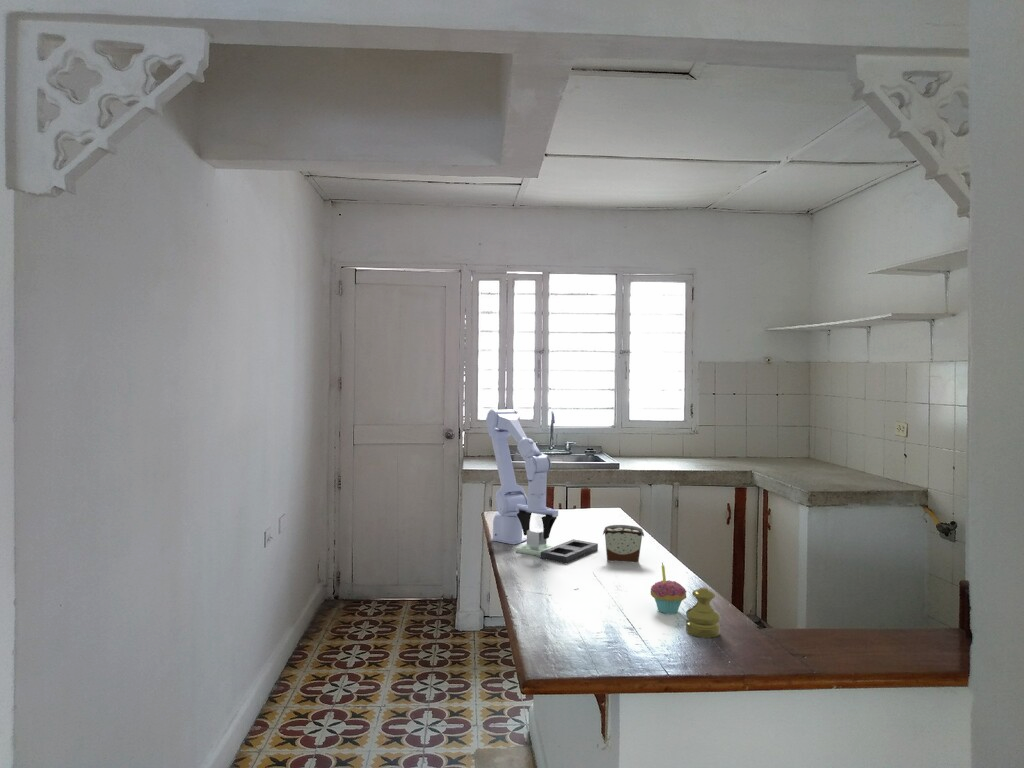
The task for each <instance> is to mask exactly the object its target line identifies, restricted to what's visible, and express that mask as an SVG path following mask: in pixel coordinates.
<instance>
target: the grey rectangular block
mask: <svg viewBox="0 0 1024 768" xmlns="http://www.w3.org/2000/svg"><path fill="white" fill-rule="evenodd" d="M526 539H527V540H526V544H527V549H531V550H536V551H541V550H544V549H546V545H547V542H548V541H547V540H548V538H547V539H544V537H543V528H536V527H534V528H530V530H527V535H526Z"/></svg>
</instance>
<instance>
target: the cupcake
mask: <svg viewBox="0 0 1024 768" xmlns="http://www.w3.org/2000/svg"><path fill="white" fill-rule="evenodd" d="M661 564H662V565H661V573H662V580H661V581H657V582H655V583H654V584H653V585H651V587H650V595H651V597H652V598H653V599H654V601H655V603H656V607H657V608H656V609H657V610H659V611H658V612H660V613H662V612H663V614H666V613H669V615H673V614H677V613H678V612H679V609H680V606H681V604H682V601H684V600H686V598H687V590H686V588H685V587H684V586H683V585H681V584H680V583H679V582H677V580H675V581H674V580H673V581H672V580H666V579H667V578H666V577H667V576H666V571H665V570H666V569H665V568H666V567H665V565H664V562H661Z"/></svg>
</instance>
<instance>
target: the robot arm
mask: <svg viewBox="0 0 1024 768" xmlns="http://www.w3.org/2000/svg"><path fill="white" fill-rule="evenodd" d="M520 420H521V415H520V414H519V413H518V410H517V409H515V408H512V409H490V410H489V411H488V412H487V416H486V419H485V421H486V422H485V423H486V427H487V431H488V436H489V437H491V441H492V442H491V443H492V446H493V447H492V448H493V453H494V457H495V458H494V459H495V461H496V463H495V464H496V467H497V472H498V477H499V481H500V487H499V488H498V489H497V490H496V492H495V509H496V512H497V513H495V515H494V516H493V521H492V538H491V541H494V542H500V543H505V544H508V545H517V544H520V543H523V542H527V537H526V538H525V537H523V536H527V530H530V529H531V527H530V525H531V524H530V523H531V517H532V514H537V515H542V516H541V521H542V527H543V528H542V529H543V537H544V539H547V540H548V539H549V538H550V534H551V530H552V528H553V526H554V524H555V521H556V520H557V517H559V509H554V508H550V507H547V479H548V478H547V477H548V473H549V472H550V471H551V469H552V468H551V467H552V463H551V462H552V461H551V459H550V457H549V455H547V454H545V453H542V452H541V451H540V449H539V448H538V446H537V444H536V443H535V441H534V440H533V439H532V438H530V437H527V434H526V433H525V431H524V429H523V427H522V425H521V423H520ZM510 436H512V438H513V439H514V440H515V442H516V443H517V447H516V449H517V451H518V452H519V453H518V454H520V455H521V458H522V459H523V460H524V468H525V471H526V478H527V480H528V481H527V483H528V484H527V486H528V487H527V495H526V491H525V489H524V487H522V486H521V485H520V484H518V483H517V480H516V474H515V469H514V466H513V460H512V456H511V451H510V447H509V442H508V438H509V437H510Z"/></svg>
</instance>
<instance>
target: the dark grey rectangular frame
mask: <svg viewBox="0 0 1024 768" xmlns="http://www.w3.org/2000/svg"><path fill="white" fill-rule="evenodd" d="M598 548H599V543H597V542H596V543H595V542H591V541H590V542H589V541H584V540H580V539H574V538H572V539H571V540H568V541H565V542H562V543H560V544H557V545H555V547H552V548H550V549H547V550H544V551H542V552H541V557H540V559H541V558H543V559H542V560H546V559H547V561H551V562H556V561H557V562H556V563H561V562H562V563H561V564H566V563H567V564H569V563H571V562H573V561H576V560H578V559H581V558H582V557H585V556H587V555H589V553H590V554H592V553H594V552H596V551H598V550H599V549H598ZM568 562H569V563H568Z"/></svg>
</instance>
